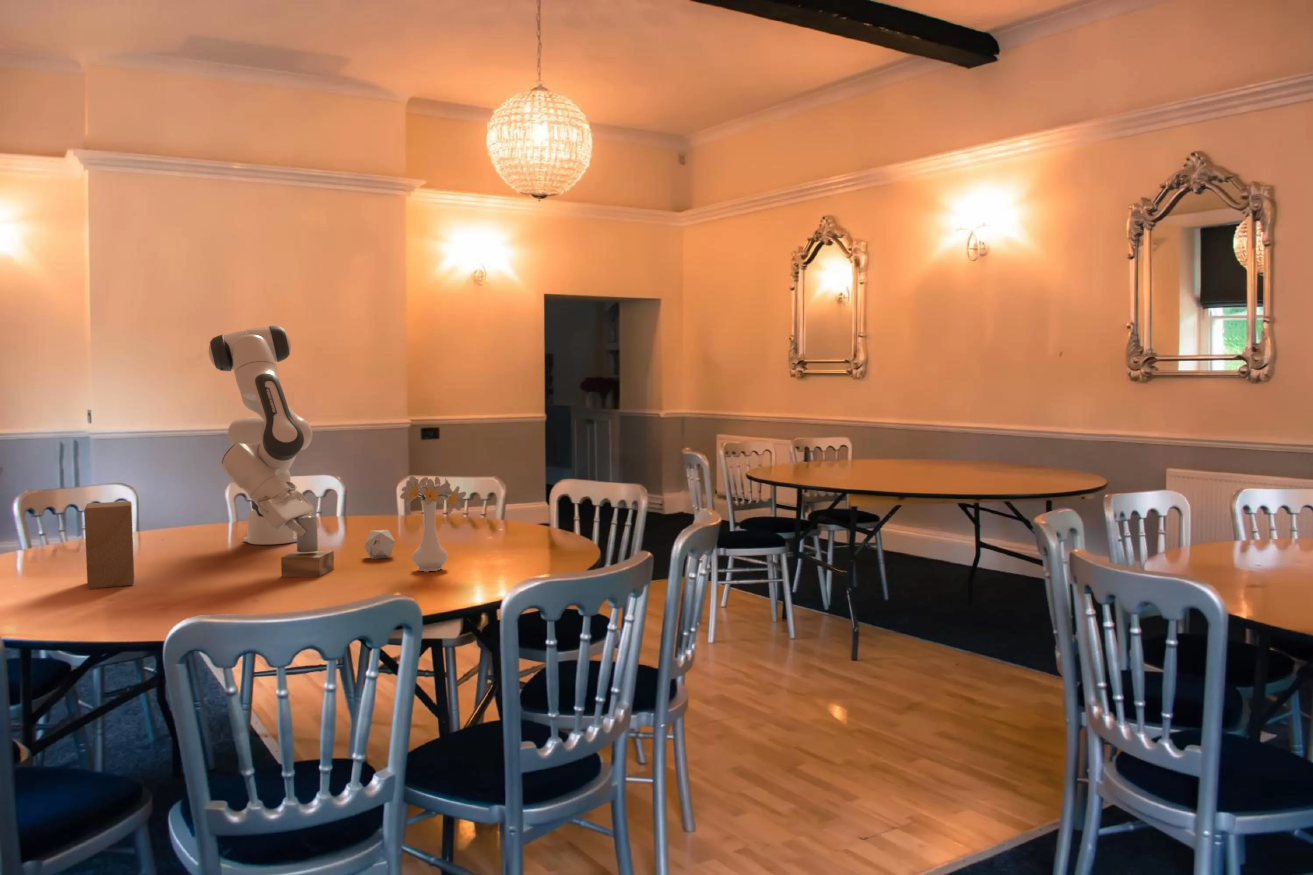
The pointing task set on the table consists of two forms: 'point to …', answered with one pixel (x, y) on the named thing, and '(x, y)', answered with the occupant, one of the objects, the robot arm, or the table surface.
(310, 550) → the grey square pillar
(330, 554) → the oak block
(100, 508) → the wooden block
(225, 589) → the table surface
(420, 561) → the flower vase
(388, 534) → the die
